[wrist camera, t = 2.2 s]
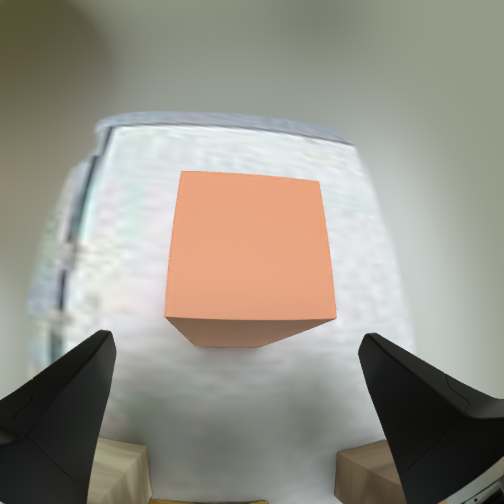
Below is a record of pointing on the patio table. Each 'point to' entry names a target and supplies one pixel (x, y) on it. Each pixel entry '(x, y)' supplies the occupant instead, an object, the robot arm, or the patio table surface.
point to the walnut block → (368, 476)
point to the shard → (171, 503)
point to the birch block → (119, 474)
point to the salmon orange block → (248, 259)
